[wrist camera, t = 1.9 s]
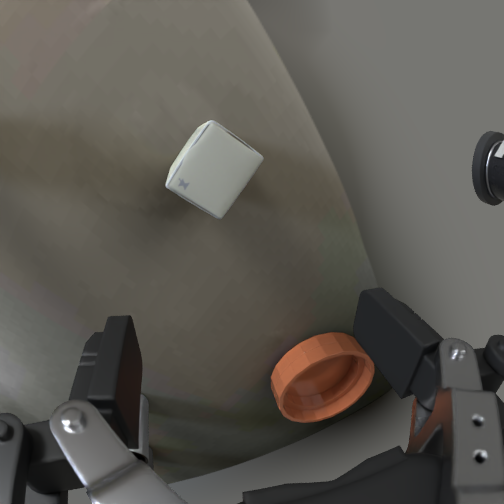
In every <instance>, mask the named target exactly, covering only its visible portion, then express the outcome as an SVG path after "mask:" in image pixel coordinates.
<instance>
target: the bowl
mask: <svg viewBox="0 0 504 504" xmlns="http://www.w3.org/2000/svg"><path fill="white" fill-rule="evenodd" d="M374 372H375V370H374V363H373V361H372V360H371V359H370V357H369V356H368V355H367V354H366V352H365V351H364V350H363V348H362V347H361V346H360V345H359V343H358V342H357V340H356V339H355V338H354V337H352V336H350V335H347V334H345V333H336V332H329V333H325V334H321V335H316V336H313V337H311V338H309V339H307V340H305V341H303V342H301V343H299V344H298V345H296V346H295V347H294V348H292V349H291V350H290V351H288V352H287V353H286V354H285V355H284V356H283V357H282V359H281V360H280V361H279V362H278V363H277V365H276V366H275V368H274V371H273V373H272V375H271V389H272V391H273V394H274V397H275V399H276V402H277V405H278V407H279V409H280V411H281V413H282V414H283V416H284V417H286V418H288V419H290V420H291V421H295V422H302V423H307V422H316V421H320V420H324V419H327V418H330V417H332V416H334V415H336V414H338V413H340V412H342V411H344V410H345V409H347V408H348V407H350V406H351V405H352V404H354V403H355V402H356V401H357V400H358V399H359V398H360V397H361V396H362V395H363V394H364V393H365V392H366V390H367V389H368V387H369V385H370V384H371V382H372V379H373V376H374Z"/></svg>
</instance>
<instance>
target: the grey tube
mask: <svg viewBox="0 0 504 504" xmlns="http://www.w3.org/2000/svg"><path fill="white" fill-rule="evenodd" d="M148 420H149V402H148V399H147V398H146V397H145V396H144V395H142V394H141V397H140V417H139V449H129V450H130V451H131V452H132V453H133V454H134V456H135V457H136V458H137V459H138V460H142V461H144V462H145V463H146V464H148V462H149V446H148Z"/></svg>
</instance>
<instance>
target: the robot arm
mask: <svg viewBox="0 0 504 504" xmlns="http://www.w3.org/2000/svg"><path fill="white" fill-rule="evenodd" d="M484 178H485V185H486V189H487V191H488V193H489V195H490V196H491V197H493V198H495V199H500V200H502V201H504V141H496V142H494V143H493V144H492V145H491V147H490V149H489V151H488V153H487V156H486V161H485V168H484ZM353 331H354V336H355V339H356V340H357V342H358V343H359V345H360V346H361V347H362V348H363V350H364V351H365V352H366V354H367V355H368V356H369V357H370V359H371V360H372V361H373V363H374V364H375V365H376V366H377V368H378V369H379V370H380V372H381V373H382V374H383V376H384V377H385V378H386V380H387V381H388V382H389V383H390V385H391V386H392V387H393V389H394V390H395V391H396V393H397V394H398V395H399V397H400V398H401V399H402V398H405V397H407V396H410V395H412V394H414V395H415V396H416V397H415V399H414V402H413V406H412V418H411V428H410V438H409V444H408V448H407V450H406V452H405V453H404V452H403V450H402V449H401V447H400V446H397V447H395V448H393V449H390V450H388V451H386V452H383V453H381V454H378V455H376V456H374V457H371V458H368V459H366V460H365V461H363V462H362V463H360V464H359V465H358V466H356V467H354V468H353V469H352V470H350V471H348V472H347V473H345V474H344V475H342V476H340V477H339V478H337V479H335V480H333V481H328V482H314V483H293V484H283V485H278V486H273V487H269V488H263V489H258V490H253V491H247V492H243V502H240V503H238V504H504V403H503V402H502V401H501V399H500V398H499V397H498V396H497V395H496V392H497V390H498V389H499V387H500V385H501V384H502V382H503V381H504V336H502V335H493V336H491V337H490V338H489V341H488V343H487V345H486V347H485V348H480V349H473V348H472V347H471V346H470V345H469V344H468V343H467V342H465V341H463V340H460V339H456V338H448V339H445V340H444V339H443V338H442V337H441V336H440V335H439V334H438V333H437V332H436V331H435V330H434V329H432V328H431V327H430V326H429V325H428V324H427V323H426V322H425V321H424V320H421V318H420V317H419V316H418V315H417V314H416V313H415V314H414V311H412V309H410V308H409V307H408V306H407V305H406V304H404V303H402V302H400V301H398V300H396V299H394V298H393V297H392V296H391V295H390V294H389V293H388V292H386V291H385V290H384V289H383V288H375V289H369V290H363V291H362V292H361V294H360V297H359V302H358V307H357V311H356V316H355V321H354V326H353ZM79 364H80V366H78V369H77V372H76V376H75V379H74V383H73V386H72V390H71V394H70V397H69V401H67V402H64V403H62V404H61V405H59V406H58V407H57V408H56V409H55V410H54V411H53V413H52V415H51V417H50V420H47V421H42V422H37V423H32V424H27V425H23V423H22V422H21V420H20V419H19V418H18V417H17V416H15V415H14V414H11V413H1V414H0V504H68V490H73V489H78V488H83V487H86V489H87V492H86V493H87V495H88V497H89V498H90V500H91V501H92V503H93V504H188V503H187V502H186V501H185V500H183V499H182V498H181V497H180V496H179V495H178V494H177V493H176V492H174V490H172V489H171V488H170V487H169V486H168V485H167V484H166V483H165V482H164V481H163V480H162V479H161V478H160V477H159V476H158V475H157V474H156V473H155V472H154V471H153V470H152V469H151V468H150V467H149V466H148V465H147V464H146V463H145V462H144V461H142V460H138V459H137V458H136V457H135V456H134V454H133V453H132V452H131V451H130V450H129V449H139V417H140V397H141V382H142V357H141V352H140V348H139V344H138V340H137V336H136V332H135V328H134V324H133V320H132V317H131V316H130V315H128V316H110V317H108V319H107V322H106V325H105V329H104V332H95V333H94V334H93V335H92V336H91V337H90V339H89V340H88V341H87V342H86V344H85V347H84V350H83V353H82V356H81V359H80V363H79Z"/></svg>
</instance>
